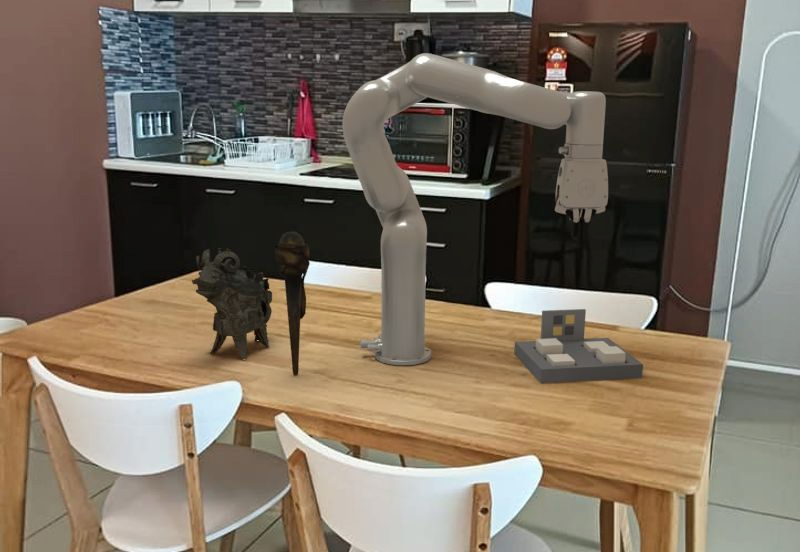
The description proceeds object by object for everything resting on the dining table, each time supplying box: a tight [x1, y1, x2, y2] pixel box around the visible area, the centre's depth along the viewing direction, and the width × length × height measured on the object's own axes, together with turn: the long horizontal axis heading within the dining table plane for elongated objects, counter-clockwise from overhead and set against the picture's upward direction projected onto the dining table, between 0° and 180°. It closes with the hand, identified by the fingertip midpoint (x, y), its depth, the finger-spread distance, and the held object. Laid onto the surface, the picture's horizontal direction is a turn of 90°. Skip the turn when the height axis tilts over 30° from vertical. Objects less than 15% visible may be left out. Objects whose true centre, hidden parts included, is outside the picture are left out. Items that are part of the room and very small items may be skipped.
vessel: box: [191, 247, 273, 360], centre depth 183 cm, size 11×25×24 cm, turn 155°
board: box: [513, 337, 644, 384], centre depth 179 cm, size 22×18×3 cm
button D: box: [583, 341, 610, 353], centre depth 181 cm, size 4×4×2 cm
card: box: [540, 308, 587, 341], centre depth 186 cm, size 10×1×7 cm, turn 100°
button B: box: [596, 346, 626, 364], centre depth 174 cm, size 4×4×2 cm
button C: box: [535, 338, 563, 355], centre depth 179 cm, size 4×4×2 cm
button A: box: [546, 354, 575, 367], centre depth 173 cm, size 4×4×2 cm
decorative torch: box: [274, 231, 311, 376], centre depth 169 cm, size 7×7×30 cm
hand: (578, 239), depth 176 cm, fingers closed
